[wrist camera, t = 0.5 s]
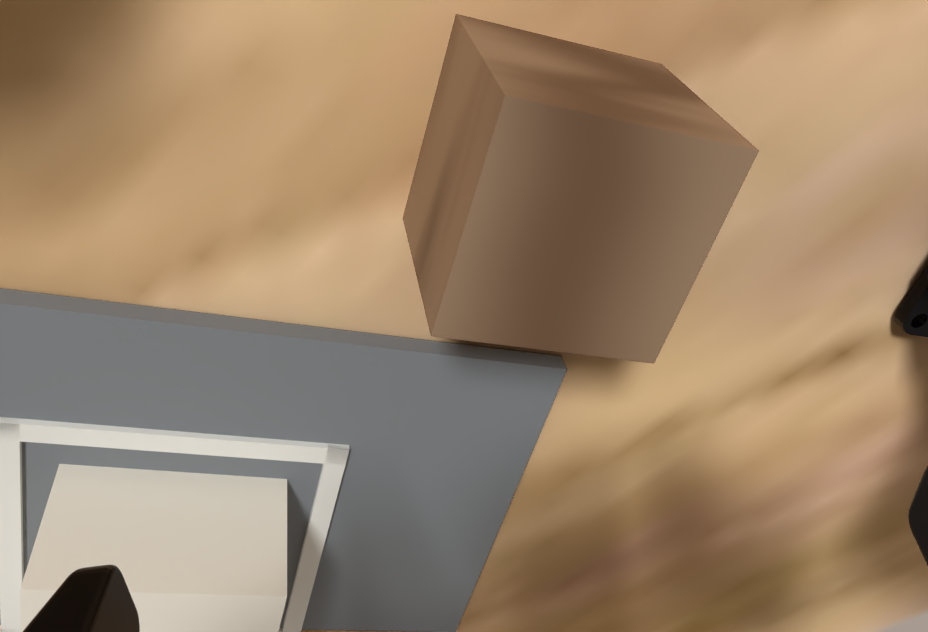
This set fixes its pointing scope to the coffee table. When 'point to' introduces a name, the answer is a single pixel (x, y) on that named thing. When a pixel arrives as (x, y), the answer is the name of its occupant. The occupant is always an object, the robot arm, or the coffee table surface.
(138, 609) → the base block
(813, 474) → the coffee table surface
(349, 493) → the grey flat rectangular panel
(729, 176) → the walnut cube
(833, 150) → the coffee table surface
